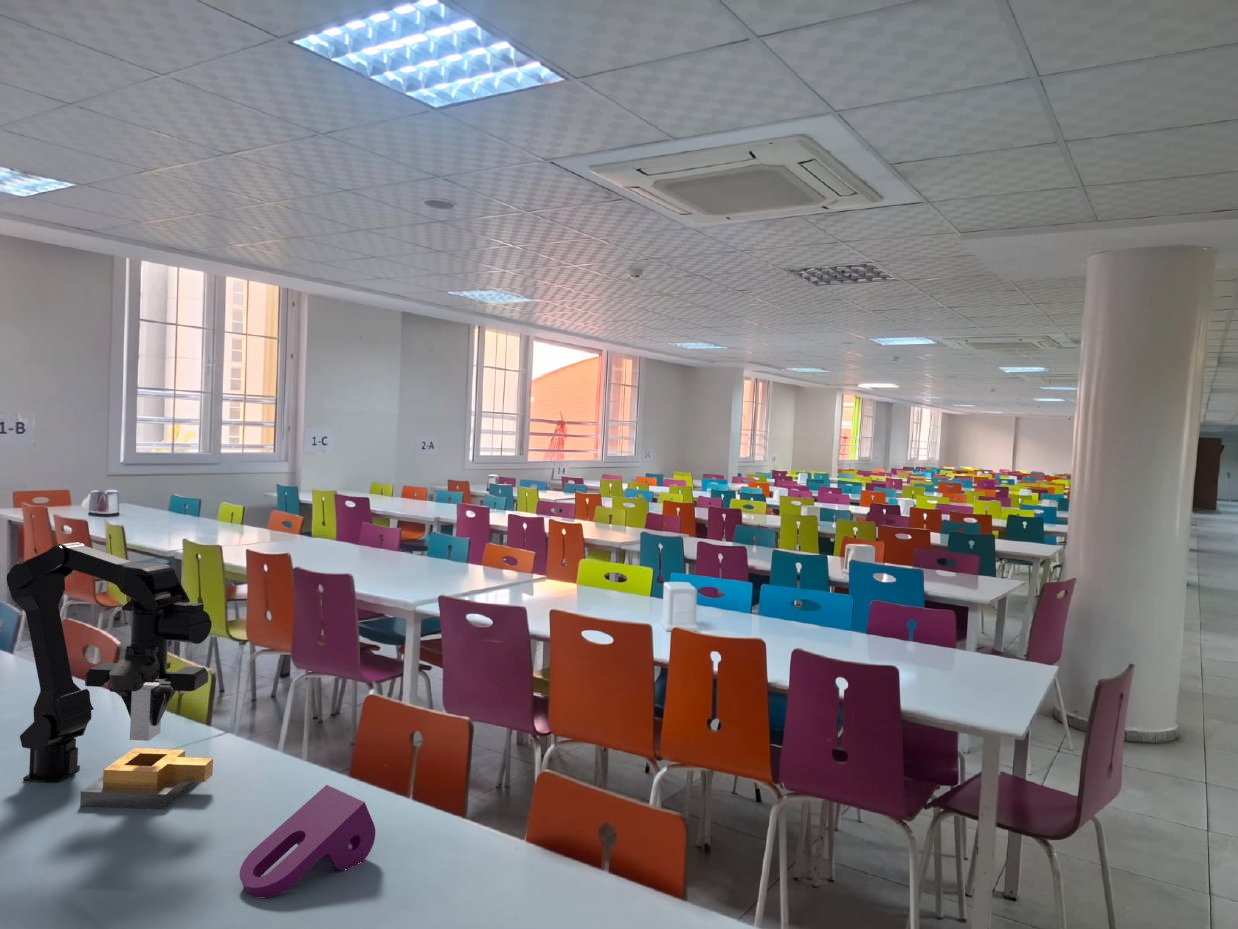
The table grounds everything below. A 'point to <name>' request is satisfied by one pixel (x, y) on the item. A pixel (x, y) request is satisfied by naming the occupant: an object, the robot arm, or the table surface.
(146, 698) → the grey rectangular block
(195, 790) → the table surface
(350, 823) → the mounting bracket
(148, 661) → the robot arm
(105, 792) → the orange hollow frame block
